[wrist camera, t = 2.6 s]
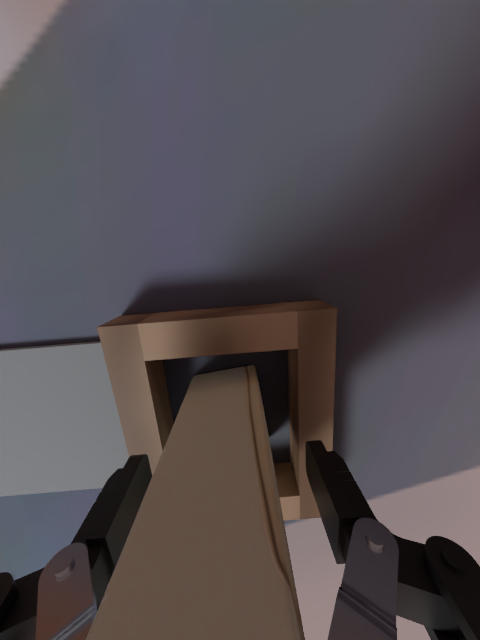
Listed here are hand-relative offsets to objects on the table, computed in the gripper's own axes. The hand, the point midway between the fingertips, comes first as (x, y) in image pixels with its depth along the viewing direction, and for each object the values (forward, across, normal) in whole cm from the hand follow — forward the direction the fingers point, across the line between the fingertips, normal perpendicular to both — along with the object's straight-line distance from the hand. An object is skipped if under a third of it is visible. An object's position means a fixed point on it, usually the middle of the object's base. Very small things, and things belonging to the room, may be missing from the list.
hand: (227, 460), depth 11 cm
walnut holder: (+4, 0, 0) cm, 4 cm away
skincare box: (+4, 0, 0) cm, 4 cm away
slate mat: (+4, +12, 0) cm, 13 cm away
